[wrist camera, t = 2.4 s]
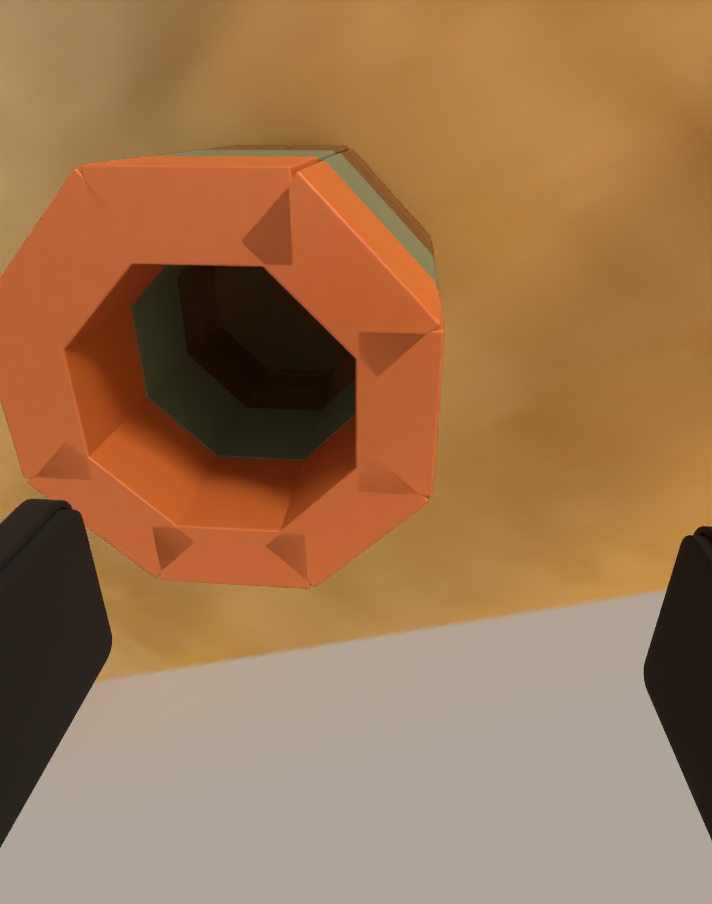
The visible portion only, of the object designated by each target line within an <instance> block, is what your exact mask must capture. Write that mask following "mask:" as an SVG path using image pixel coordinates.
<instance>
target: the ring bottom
mask: <svg viewBox="0 0 712 904" xmlns="http://www.w3.org/2000/svg"><path fill="white" fill-rule="evenodd" d="M203 150H333V151H335V153H336V154H339V153H341V154H342V155H343V156H344V157H345V158H346V159H347V160H348V161H349V163H350V164H351V165H352V166H353V167H354V168H355V169H356V170H357V171H358V173H359V174H360V175H361V176H362V177H363V178H364V179H365V180H366V181H367V183H368V184H369V185H370V186H371V187H372V188H373V189H374V190H375V191H376V193H377V194H378V195H379V196H380V197H381V198H382V199H383V200H384V201H385V203H386V204H387V205H388V206H389V207H390V208H391V209H392V210H393V211H394V213H395V214H396V215H397V216H398V217H399V218H400V219H401V220H402V221H403V223H404V224H405V225H406V226H407V227H408V228H409V229H410V230H411V231H412V233H413V234H414V235H415V236H416V237H417V238H418V239H419V240H420V241H421V243H422V244H423V245H424V246H425V247H426V248H427V249H428V250H429V251H430V253H431V254H432V255H433V260H434V253H433V246H432V241H431V240H430V235H429V234H428V233H427V232H426V231H425V229H424V228H423V227H422V226H421V225H420V224H419V223H418V222H417V220H416V219H415V218H414V217H413V216H412V215H411V214H410V213H409V211H408V210H407V209H406V208H405V207H404V206H403V205H402V204H401V202H400V201H399V200H398V199H397V198H396V197H395V196H394V195H393V193H392V192H391V191H390V190H389V189H388V188H387V187H386V186H385V184H384V183H383V182H382V181H381V180H380V179H379V178H378V177H377V175H376V174H375V173H374V172H373V171H372V170H371V169H370V168H369V166H368V165H367V164H366V163H365V162H364V161H363V160H362V159H361V158H360V156H359V155H358V154H357V153H356V152H355V151H354V150H353V149H350V150H348V147H347V146H227V147H219V148H211V149H203ZM177 280H178V287H179V295H180V302H181V309H182V317H183V324H184V331H185V339H186V346H187V353H188V356H189V357H190V358H191V359H192V360H193V361H194V362H195V363H196V364H198V365H199V366H200V367H201V368H202V369H203V370H204V371H205V372H207V373H208V374H209V375H210V376H211V377H212V378H213V379H214V380H216V381H217V382H218V383H219V384H220V385H221V386H222V387H223V388H225V389H226V390H227V391H228V392H229V393H230V394H231V395H232V396H234V397H235V398H236V399H237V400H238V401H239V402H240V403H241V404H243V405H244V406H245V407H246V408H264V409H291V410H318V411H320V410H321V409H322V408H323V407H324V406H325V405H326V404H328V403H329V402H330V401H331V400H332V399H333V398H334V397H335V396H336V395H337V394H339V393H340V392H341V391H342V390H343V389H344V388H345V387H346V386H347V385H349V384H350V383H351V382H352V381H353V380H354V379H355V378H356V359H355V358H354V357H353V356H352V355H351V356H350V357H349V358H348V359H347V360H346V361H345V362H344V363H343V364H342V365H341V366H339V367H338V368H337V369H336V370H335V371H334V372H333V373H309V372H278V371H268V370H266V369H265V368H264V367H263V366H262V365H261V364H260V363H259V362H258V361H257V360H256V359H255V358H254V357H252V356H251V355H250V354H249V353H248V352H247V351H246V350H245V349H244V348H243V347H242V346H241V345H239V344H238V343H237V342H236V341H235V340H234V339H233V338H232V337H231V336H230V335H229V334H228V333H226V332H225V331H224V330H223V329H222V328H221V327H220V326H219V325H218V321H217V311H216V302H215V293H214V284H213V275H212V266H198V265H187V266H186V267H185V269H184V270H183V271H182V272H181V273H180V275H179V276H178V277H177Z"/></svg>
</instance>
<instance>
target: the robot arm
mask: <svg viewBox="0 0 712 904" xmlns="http://www.w3.org/2000/svg"><path fill="white" fill-rule="evenodd" d="M111 646H112V634H111V629H110V625H109V621H108V617H107V613H106V609H105V605H104V601H103V597H102V593H101V589H100V585H99V581H98V577H97V573H96V569H95V565H94V561H93V557H92V553H91V549H90V545H89V541H88V537H87V533H86V529H85V525H84V521H83V518H82V515H81V513H80V512H79V511H77V510H73V509H72V506H71V505H70V504H69V503H68V502H67V501H64V500H44V499H29V500H26V501H24V502H23V503H21V504H20V505H19V506H18V507H17V508H16V509H15V510H14V511H13V512H12V513H11V514H10V515H9V516H8V517H7V518H6V519H5V520H4V521H3V522H2V523H1V524H0V847H1V845H2V844H3V842H4V840H5V838H6V837H7V835H8V833H9V831H10V830H11V828H12V826H13V824H14V823H15V821H16V819H17V817H18V815H19V814H20V812H21V810H22V808H23V806H24V805H25V803H26V801H27V799H28V798H29V796H30V794H31V793H32V791H33V789H34V787H35V786H36V784H37V782H38V780H39V778H40V777H41V775H42V773H43V771H44V769H45V768H46V766H47V764H48V762H49V761H50V759H51V757H52V756H53V754H54V752H55V750H56V748H57V747H58V745H59V743H60V741H61V739H62V738H63V736H64V734H65V733H66V731H67V729H68V727H69V726H70V724H71V722H72V720H73V719H74V717H75V715H76V713H77V711H78V710H79V708H80V706H81V704H82V703H83V701H84V699H85V697H86V696H87V694H88V692H89V690H90V688H91V687H92V685H93V683H94V682H95V680H96V678H97V676H98V674H99V673H100V671H101V669H102V667H103V666H104V664H105V662H106V660H107V658H108V656H109V654H110V651H111ZM644 681H645V686H646V688H647V691H648V693H649V696H650V698H651V701H652V703H653V705H654V707H655V710H656V712H657V714H658V717H659V719H660V721H661V724H662V726H663V728H664V731H665V733H666V735H667V738H668V740H669V742H670V745H671V747H672V749H673V751H674V754H675V756H676V759H677V761H678V763H679V765H680V768H681V770H682V772H683V775H684V777H685V779H686V782H687V784H688V786H689V789H690V791H691V793H692V795H693V798H694V800H695V803H696V805H697V807H698V810H699V812H700V814H701V816H702V819H703V821H704V823H705V826H706V828H707V830H708V833H709V835H710V837H711V840H712V527H708V526H702V527H700V528H698V529H697V530H696V531H695V533H694V535H693V536H692V535H688V536H686V537H685V538H684V539H683V540H682V543H681V545H680V549H679V552H678V555H677V558H676V562H675V565H674V568H673V572H672V575H671V578H670V581H669V585H668V588H667V591H666V594H665V598H664V601H663V604H662V608H661V611H660V614H659V618H658V621H657V624H656V627H655V631H654V634H653V637H652V641H651V644H650V647H649V650H648V654H647V657H646V660H645V664H644Z"/></svg>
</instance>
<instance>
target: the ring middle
mask: <svg viewBox="0 0 712 904" xmlns="http://www.w3.org/2000/svg"><path fill="white" fill-rule="evenodd" d="M157 156H317V157H318V162H321V161H326V162H327V163H328V165H329V166H330V167H331V168H332V169H333V170H334V171H335V172H336V173H337V174H338V175H339V177H340V178H341V179H342V180H343V181H344V182H345V183H346V184H347V185H348V186H349V188H350V189H351V190H352V191H353V192H354V193H355V194H356V195H357V196H358V197H359V198H360V200H361V201H362V202H363V203H364V204H365V205H366V206H367V207H368V208H369V209H370V211H371V212H372V213H373V214H374V215H375V216H376V217H377V218H378V219H379V220H380V221H381V223H382V224H383V225H384V226H385V227H386V228H387V229H388V230H389V231H390V232H391V234H392V235H393V236H394V237H395V238H396V239H397V240H398V241H399V242H400V243H401V244H402V246H403V247H404V248H405V249H406V250H407V251H408V252H409V253H410V254H411V255H412V257H413V258H414V259H415V260H416V261H417V262H418V263H419V264H420V265H421V266H422V267H423V269H424V270H425V271H426V272H427V273H428V274H429V275H430V276H431V277H432V278H433V280H434V281H435V282H436V288H437V289H438V282H437V275H436V267H435V261H434V260H433V255H432V254H431V253H430V251H429V250H428V249H427V248H426V247H425V246H424V245H423V244H422V243H421V241H420V240H419V239H418V238H417V237H416V236H415V235H414V234H413V233H412V231H411V230H410V229H409V228H408V227H407V226H406V225H405V224H404V223H403V221H402V220H401V219H400V218H399V217H398V216H397V215H396V214H395V213H394V211H393V210H392V209H391V208H390V207H389V206H388V205H387V204H386V203H385V201H384V200H383V199H382V198H381V197H380V196H379V195H378V194H377V193H376V191H375V190H374V189H373V188H372V187H371V186H370V185H369V184H368V183H367V181H366V180H365V179H364V178H363V177H362V176H361V175H360V174H359V173H358V171H357V170H356V169H355V168H354V167H353V166H352V165H351V164H350V163H349V161H348V160H347V159H346V158H345V157H344V156H343V155H342V154H341V153H339V154H336V153H335V151H333V150H195V151H187V152H179V153H171V154H163V155H157ZM186 266H187V265H166V266H165V267H164V268H163V269H162V270H161V272H160V273H159V274H158V275H157V277H156V278H155V279H154V280H153V281H152V283H151V284H150V285H149V286H148V287H147V289H146V290H145V291H144V292H143V294H142V295H141V296H140V297H139V298H138V300H137V301H136V302H135V303H134V305H133V306H132V307H131V309H132V314H133V320H134V326H135V332H136V337H137V343H138V349H139V354H140V360H141V366H142V371H143V377H144V383H145V388H146V394H147V398H148V399H149V400H151V401H152V402H153V403H154V404H155V405H157V406H158V407H159V408H160V409H161V410H162V411H164V412H165V413H166V414H167V415H168V416H170V417H171V418H172V419H173V420H174V421H176V422H177V423H178V424H179V425H180V426H181V427H183V428H184V429H185V430H186V431H187V432H189V433H190V434H191V435H192V436H193V437H194V438H196V439H197V440H198V441H199V442H200V443H202V444H203V445H204V446H205V447H206V448H207V449H209V450H210V451H211V452H212V453H213V454H215V455H216V456H217V457H233V458H256V459H279V460H302V461H304V460H305V459H306V458H307V457H308V456H309V455H311V454H312V453H313V452H314V451H315V450H316V449H317V448H319V447H320V446H321V445H322V444H323V443H324V442H325V441H327V440H328V439H329V438H330V437H331V436H332V435H333V434H335V433H336V432H337V431H338V430H339V429H340V428H341V427H343V426H344V425H345V424H346V423H347V422H348V421H349V420H351V419H352V418H353V417H354V416H355V408H356V378H355V379H354V380H353V381H352V382H351V383H350V384H349V385H347V386H346V387H345V388H344V389H343V390H342V391H341V392H340V393H339V394H337V395H336V396H335V397H334V398H333V399H332V400H331V401H330V402H329V403H328V404H326V405H325V406H324V407H323V408H322V409H321V410H320V411H318V410H291V409H264V408H246V407H245V406H244V405H243V404H241V403H240V402H239V401H238V400H237V399H236V398H235V397H234V396H232V395H231V394H230V393H229V392H228V391H227V390H226V389H225V388H223V387H222V386H221V385H220V384H219V383H218V382H217V381H216V380H214V379H213V378H212V377H211V376H210V375H209V374H208V373H207V372H205V371H204V370H203V369H202V368H201V367H200V366H199V365H198V364H196V363H195V362H194V361H193V360H192V359H191V358H190V357H189V356H188V353H187V346H186V339H185V331H184V324H183V317H182V309H181V302H180V295H179V287H178V280H177V277H178V276H179V275H180V273H181V272H182V271H183V270H184V269H185V267H186Z"/></svg>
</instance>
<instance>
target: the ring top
mask: <svg viewBox="0 0 712 904" xmlns="http://www.w3.org/2000/svg"><path fill="white" fill-rule="evenodd" d="M166 265H198V266H250V267H263V268H264V269H265V270H266V271H267V272H268V273H269V274H270V275H271V276H272V277H273V278H274V279H275V280H276V281H277V282H278V283H279V284H280V285H281V286H282V287H283V288H284V289H285V290H287V291H288V292H289V293H290V294H291V295H292V296H293V297H294V298H295V299H296V300H297V301H298V302H299V303H300V304H301V305H302V306H303V307H304V308H305V309H306V310H307V311H308V312H309V313H310V314H311V315H312V316H313V317H314V318H315V319H316V320H317V321H318V322H319V323H320V324H321V325H322V326H323V327H324V328H325V329H326V330H327V331H328V332H329V333H330V334H331V335H332V336H333V337H334V338H335V339H336V340H337V341H338V342H339V343H340V344H341V345H342V346H343V347H344V348H345V349H346V350H347V351H348V352H349V353H350V354H351V355H352V356H353V357H354V358H355V359H356V408H355V416H354V417H353V418H352V419H351V420H349V421H348V422H347V423H346V424H345V425H344V426H343V427H341V428H340V429H339V430H338V431H337V432H336V433H335V434H333V435H332V436H331V437H330V438H329V439H328V440H327V441H325V442H324V443H323V444H322V445H321V446H320V447H319V448H317V449H316V450H315V451H314V452H313V453H312V454H311V455H309V456H308V457H307V458H306V459H305V460H304V461H302V460H279V459H256V458H233V457H217V456H216V455H215V454H213V453H212V452H211V451H210V450H209V449H207V448H206V447H205V446H204V445H203V444H202V443H200V442H199V441H198V440H197V439H196V438H194V437H193V436H192V435H191V434H190V433H189V432H187V431H186V430H185V429H184V428H183V427H181V426H180V425H179V424H178V423H177V422H176V421H174V420H173V419H172V418H171V417H170V416H168V415H167V414H166V413H165V412H164V411H162V410H161V409H160V408H159V407H158V406H157V405H155V404H154V403H153V402H152V401H151V400H149V399H148V398H147V394H146V388H145V383H144V377H143V371H142V366H141V360H140V354H139V349H138V343H137V337H136V332H135V326H134V320H133V314H132V309H131V307H132V306H133V305H134V303H135V302H136V301H137V300H138V298H139V297H140V296H141V295H142V294H143V292H144V291H145V290H146V289H147V287H148V286H149V285H150V284H151V283H152V281H153V280H154V279H155V278H156V277H157V275H158V274H159V273H160V272H161V270H162V269H163V268H164V267H165V266H166ZM444 334H445V333H444V325H443V318H442V311H441V303H440V296H439V290H438V289H437V288H436V282H435V281H434V280H433V278H432V277H431V276H430V275H429V274H428V273H427V272H426V271H425V270H424V269H423V267H422V266H421V265H420V264H419V263H418V262H417V261H416V260H415V259H414V258H413V257H412V255H411V254H410V253H409V252H408V251H407V250H406V249H405V248H404V247H403V246H402V244H401V243H400V242H399V241H398V240H397V239H396V238H395V237H394V236H393V235H392V234H391V232H390V231H389V230H388V229H387V228H386V227H385V226H384V225H383V224H382V223H381V221H380V220H379V219H378V218H377V217H376V216H375V215H374V214H373V213H372V212H371V211H370V209H369V208H368V207H367V206H366V205H365V204H364V203H363V202H362V201H361V200H360V198H359V197H358V196H357V195H356V194H355V193H354V192H353V191H352V190H351V189H350V188H349V186H348V185H347V184H346V183H345V182H344V181H343V180H342V179H341V178H340V177H339V175H338V174H337V173H336V172H335V171H334V170H333V169H332V168H331V167H330V166H329V165H328V163H327V162H326V161H321V162H318V157H317V156H146V157H138V158H130V159H122V160H114V161H106V162H98V163H90V164H83V165H81V168H75V169H74V170H73V171H72V173H71V174H70V176H69V177H68V178H67V180H66V181H65V183H64V184H63V186H62V187H61V189H60V190H59V192H58V193H57V195H56V196H55V198H54V199H53V201H52V202H51V204H50V205H49V206H48V208H47V209H46V211H45V212H44V214H43V215H42V217H41V218H40V220H39V221H38V223H37V224H36V226H35V227H34V229H33V230H32V232H31V233H30V235H29V236H28V237H27V239H26V240H25V242H24V243H23V245H22V246H21V248H20V249H19V251H18V252H17V254H16V255H15V257H14V258H13V260H12V261H11V263H10V264H9V265H8V267H7V268H6V270H5V271H4V273H3V274H2V276H1V277H0V400H1V403H2V406H3V410H4V413H5V416H6V420H7V423H8V426H9V430H10V433H11V436H12V440H13V443H14V446H15V450H16V453H17V456H18V460H19V463H20V466H21V470H22V473H23V476H24V477H25V478H30V480H29V481H28V483H29V484H30V485H31V486H33V487H34V488H35V489H37V490H38V491H40V492H41V493H42V494H44V495H45V496H46V497H48V498H49V499H50V500H64V501H67V502H68V503H69V504H70V505H71V506H72V509H73V510H77V511H79V512H80V513H81V515H82V518H83V521H84V525H85V526H87V527H88V528H89V529H91V530H92V531H93V532H95V533H96V534H97V535H99V536H100V537H101V538H103V539H104V540H105V541H107V542H108V543H109V544H111V545H112V546H113V547H115V548H116V549H117V550H119V551H120V552H121V553H123V554H124V555H125V556H127V557H128V558H130V559H131V560H132V561H134V562H135V563H136V564H138V565H139V566H140V567H142V568H143V569H144V570H146V571H147V572H148V573H150V574H151V575H152V576H154V577H155V578H156V577H158V576H159V575H160V576H161V580H170V581H187V582H203V583H220V584H237V585H254V586H271V587H288V588H305V589H309V588H310V585H312V586H314V587H316V586H317V585H318V584H320V583H321V582H322V581H324V580H325V579H326V578H328V577H329V576H330V575H332V574H333V573H334V572H336V571H337V570H338V569H340V568H341V567H343V566H344V565H345V564H347V563H348V562H349V561H351V560H352V559H353V558H355V557H356V556H357V555H359V554H360V553H361V552H363V551H364V550H365V549H367V548H368V547H369V546H371V545H372V544H373V543H375V542H376V541H377V540H379V539H380V538H381V537H383V536H384V535H385V534H387V533H388V532H389V531H391V530H392V529H393V528H395V527H396V526H397V525H399V524H400V523H401V522H403V521H404V520H406V519H407V518H408V517H410V516H411V515H412V514H414V513H415V512H416V511H418V510H419V509H420V508H422V507H423V506H424V505H426V504H427V503H428V502H429V496H432V495H433V487H434V473H435V459H436V445H437V431H438V417H439V403H440V389H441V376H442V362H443V348H444Z"/></svg>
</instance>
